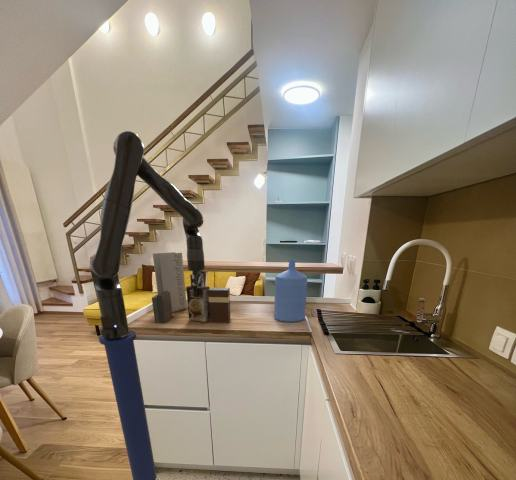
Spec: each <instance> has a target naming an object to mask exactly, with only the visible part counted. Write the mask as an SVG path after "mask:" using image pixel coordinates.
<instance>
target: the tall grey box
mask: <svg viewBox="0 0 516 480" xmlns="http://www.w3.org/2000/svg"><path fill="white" fill-rule="evenodd" d="M152 259H153V268H154V276H155V282H156V283H155V284H156V291H157V295H158V294H159V293H163V292H164V291H170V297H171V306H172V313H174V312H179V311H181V310H186V309H188V303H187V292H186V282H185V281H186V280H185V272H184V271H185V270H184V260H183V253H182V252H175V251H174V252H158V253H157V252H156V253H155V252H154V253H152Z"/></svg>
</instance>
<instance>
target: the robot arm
mask: <svg viewBox="0 0 516 480" xmlns="http://www.w3.org/2000/svg"><path fill="white" fill-rule="evenodd" d="M112 147H113V148H112V149H113V150H112V151H113V152H114V153H113V154H114V155H115V156H114V157H115V158H114V165H113V166H114V167H113V170H112V174H111V176H110V179H109V181H108V183H107V186H106V189H105V192H104V196H103V200H102V205H101V210H100V225H99V226H100V236H99V242H98V245H97V249H96V252H95V253H94V254H93V255H92V256H91V257H90V259H89V269H90V273H91V278H92V282H93V286H94V290H95V293H96V299H97V302H98V308H99V312H100V317H99V318H100V322H101V323H100V324H101V327H102V329H101V335H102V336H103V337H105V339H107V340H109V339H121V338H124V337H127V336H129V335H130V332H129V330H130V327H129V323H128V316H127V311H126V306H125V300H124V299H125V298H124V293H123V288H122V286H121V283H120V279H119V271H120V267H121V266H120V265H121V254H122V247H123V242H124V239H125V235H126V234H127V233H126V232H127V230H128V225H129V222H130V217H131V211H132V206H133V201H134V195H135V186H136V180H137V177H139V178H140V179H141V180H142V181H143V182H144V183H145V184H147V186H149V187H150V188H151V189H152V190H153V191H154V193H156V194H157V196H159V198H160V199H161V200H162V201H163V202H164V203H165V204H166V205H167V206H168V207H169V208H170V209H171V210H172V211H173V212H174V213H177V214H179V215H180V216H181V217H182V227H183V230H184V235H185V239H186V240H185V241H186V261H187V270H188V271H192V274H190V275H189V277H190V278H189V279H190V286H191V288H192V289H193V294H194V297H199V293H198V286H204V270H205V269H206V265H205V253H204V244H203V243H204V242H203V241H204V240H203V236H202V235H201V234H200V229H199V228H201V227H202V226H203V224H204V216H203V214H202V213H201V211H200V210H199V209H198V208H197V207H196V206H195V205H193V204H192V203H191V202H190V201H189V200H187V199H186V198H185V196H184V195H183V194H182V193H181V192H180V191H179V190H178V189H177V188H176V186H175V185H173V184H172V183H171V182H170V180H168V179H167V178H166V177H164V176H163V175H162V174H161V173H159V172H158V171H156V169H155V168H154V167H153V166H152V165H151V164H150V163H149V162H148V161H147V160H146V158H145V157H144V155H145V147H144V144H143V141H142V139H141V138H140V136H138V134H136V133H135V132H133V131H130V130H126V131H123V132H121V133H119V134H118V135H117V136H116V138H115V140H114V142H113V145H112Z"/></svg>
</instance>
